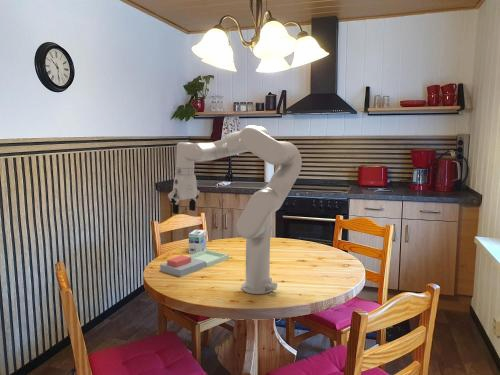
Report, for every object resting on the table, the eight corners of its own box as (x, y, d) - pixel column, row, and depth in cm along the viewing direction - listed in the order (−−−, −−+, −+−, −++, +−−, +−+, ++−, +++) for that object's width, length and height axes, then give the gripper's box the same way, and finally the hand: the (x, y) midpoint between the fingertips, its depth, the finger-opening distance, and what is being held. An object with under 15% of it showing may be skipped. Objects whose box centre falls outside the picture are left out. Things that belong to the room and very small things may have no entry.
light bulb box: (200, 254, 200) (200, 234, 199) (188, 254, 201) (188, 233, 200) (207, 249, 210) (207, 229, 209) (195, 248, 212) (195, 229, 211)
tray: (228, 258, 193) (228, 254, 193) (206, 267, 180) (206, 262, 180) (206, 253, 202) (206, 249, 201) (184, 261, 189) (184, 257, 188)
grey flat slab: (205, 267, 180) (205, 261, 180) (180, 277, 167) (180, 270, 167) (185, 262, 188) (185, 256, 187) (160, 271, 175) (160, 264, 174)
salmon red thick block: (191, 262, 178) (191, 257, 177) (176, 267, 170) (176, 262, 170) (181, 260, 181) (181, 255, 181) (167, 265, 174) (167, 259, 174)
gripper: (175, 173, 154) (174, 216, 156) (205, 171, 167) (204, 210, 170) (163, 172, 158) (162, 213, 160) (193, 170, 172) (192, 208, 174)
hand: (184, 211), depth 165 cm, fingers open, 9 cm apart
